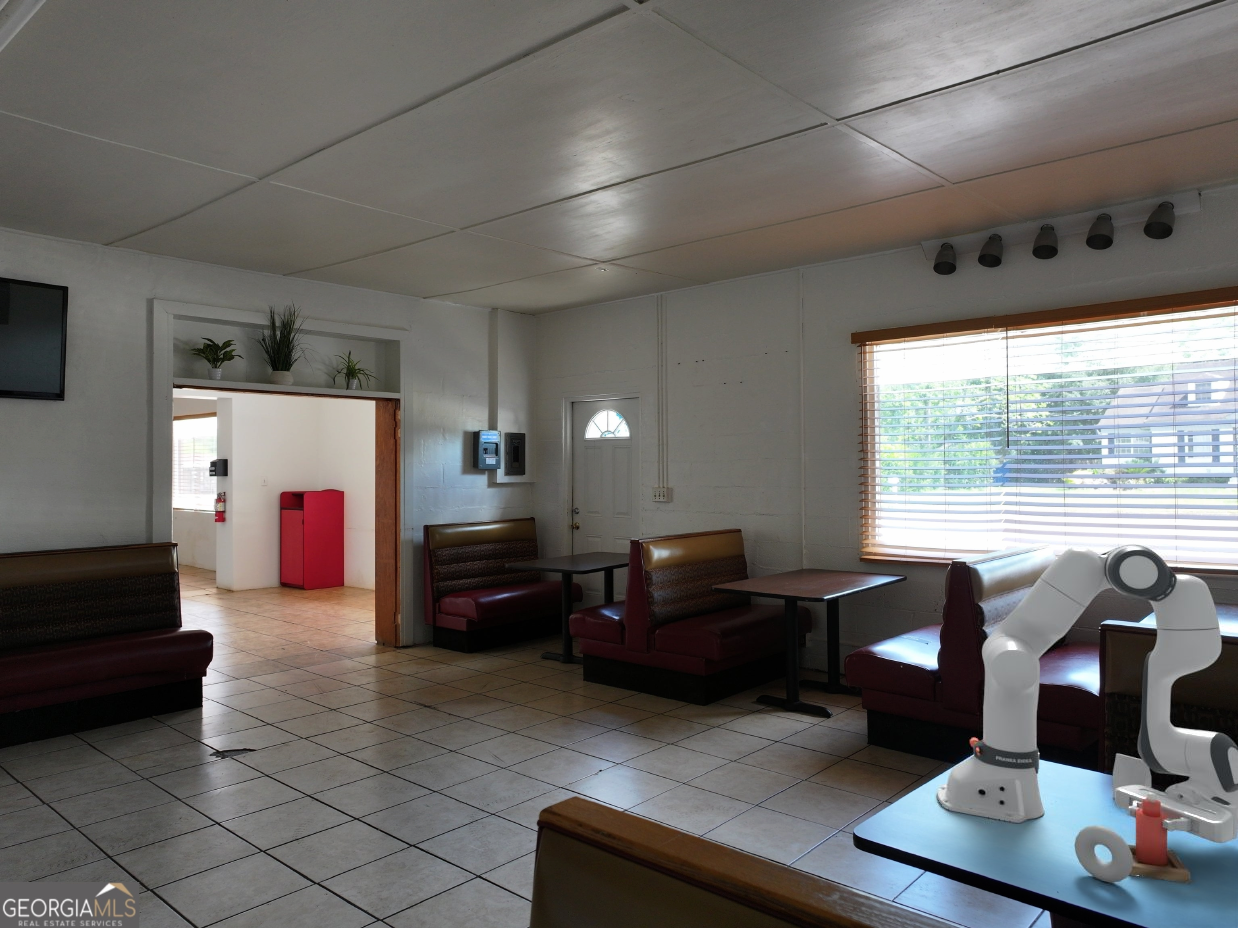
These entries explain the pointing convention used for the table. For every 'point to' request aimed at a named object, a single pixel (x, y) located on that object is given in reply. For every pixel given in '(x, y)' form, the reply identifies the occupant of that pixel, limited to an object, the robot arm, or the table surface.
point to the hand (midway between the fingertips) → (1148, 819)
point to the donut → (1115, 844)
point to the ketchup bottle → (1151, 833)
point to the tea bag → (1130, 772)
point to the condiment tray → (1161, 868)
